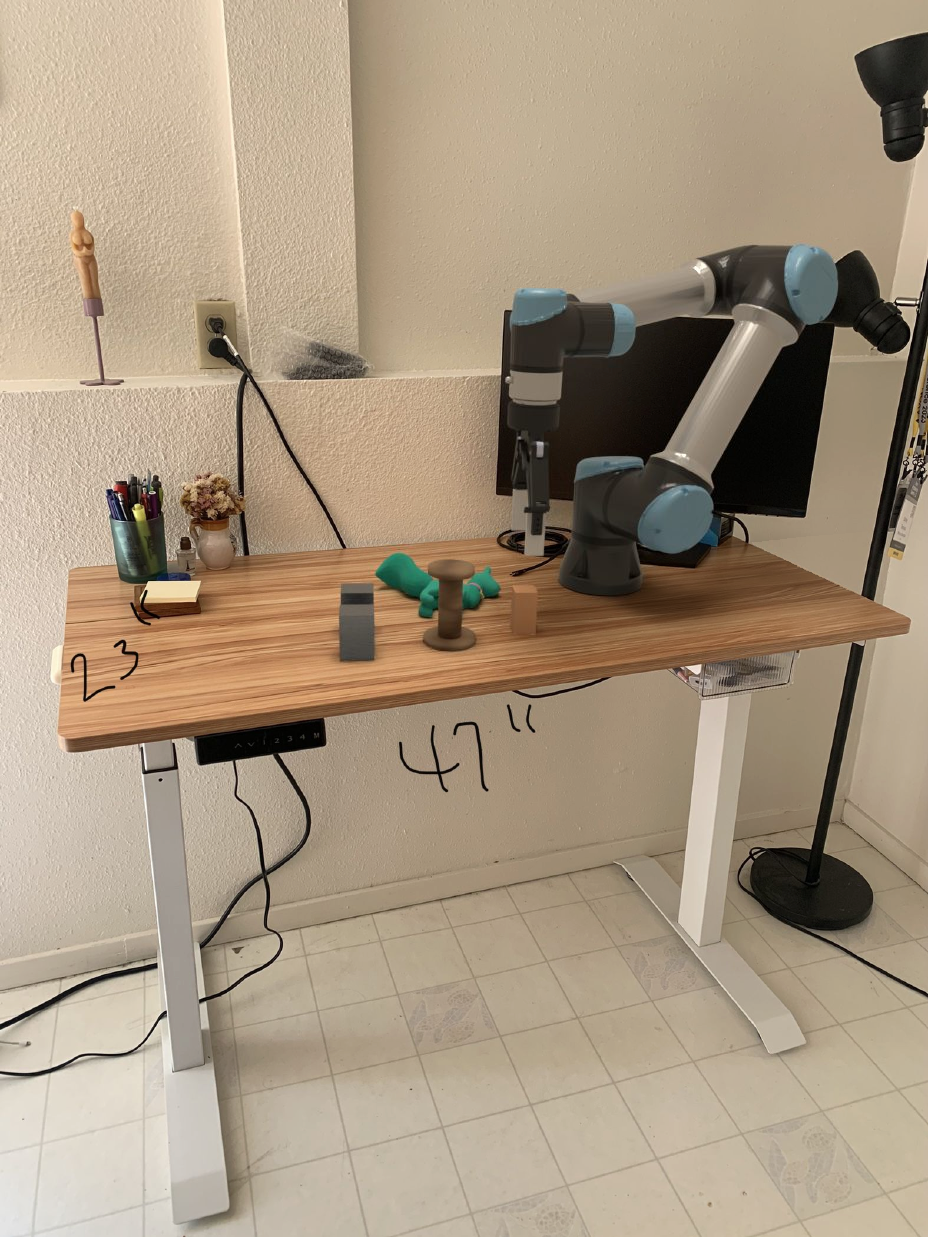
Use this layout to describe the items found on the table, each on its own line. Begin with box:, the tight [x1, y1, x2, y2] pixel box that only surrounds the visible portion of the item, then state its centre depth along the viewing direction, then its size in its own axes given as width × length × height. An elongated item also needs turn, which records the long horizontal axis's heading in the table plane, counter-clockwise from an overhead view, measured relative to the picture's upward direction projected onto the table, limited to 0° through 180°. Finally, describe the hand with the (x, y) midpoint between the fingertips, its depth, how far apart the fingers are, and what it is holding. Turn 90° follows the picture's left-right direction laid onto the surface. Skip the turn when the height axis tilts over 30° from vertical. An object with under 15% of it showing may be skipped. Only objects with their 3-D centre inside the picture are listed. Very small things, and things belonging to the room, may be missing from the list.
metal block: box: [338, 582, 376, 662], centre depth 139 cm, size 5×14×7 cm, turn 6°
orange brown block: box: [509, 584, 539, 636], centre depth 146 cm, size 4×4×7 cm
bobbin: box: [422, 558, 477, 652], centre depth 140 cm, size 8×8×12 cm
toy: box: [374, 552, 502, 618], centre depth 159 cm, size 7×22×20 cm
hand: (526, 542), depth 142 cm, fingers open, 13 cm apart
